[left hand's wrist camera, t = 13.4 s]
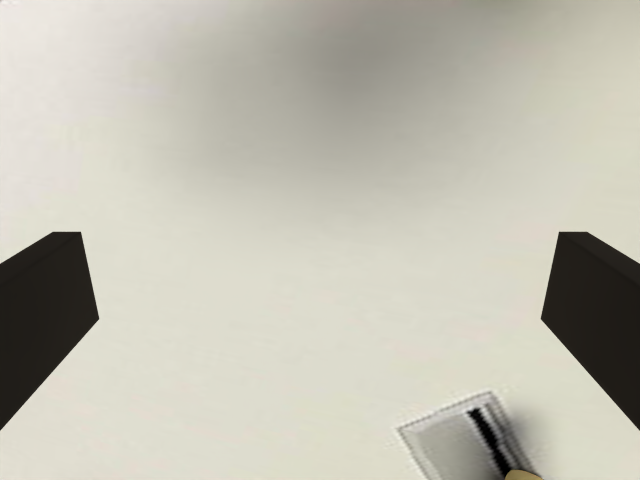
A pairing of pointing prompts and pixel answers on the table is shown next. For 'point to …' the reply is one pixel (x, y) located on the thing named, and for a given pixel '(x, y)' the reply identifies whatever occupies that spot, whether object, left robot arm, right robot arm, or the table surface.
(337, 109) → the table surface
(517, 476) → the toy gun
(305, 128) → the table surface
